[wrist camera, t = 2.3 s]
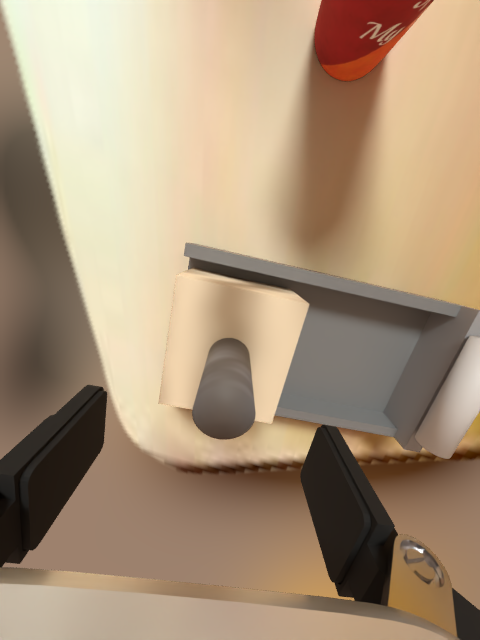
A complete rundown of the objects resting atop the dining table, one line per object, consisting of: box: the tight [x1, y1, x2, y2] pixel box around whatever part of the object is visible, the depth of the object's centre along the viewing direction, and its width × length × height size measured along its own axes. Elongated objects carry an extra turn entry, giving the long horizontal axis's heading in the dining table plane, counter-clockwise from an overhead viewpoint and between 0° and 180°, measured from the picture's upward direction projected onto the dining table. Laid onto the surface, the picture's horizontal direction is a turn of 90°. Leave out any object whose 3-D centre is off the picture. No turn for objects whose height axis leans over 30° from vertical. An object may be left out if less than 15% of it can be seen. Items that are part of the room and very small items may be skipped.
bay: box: [184, 243, 480, 459], centre depth 21 cm, size 26×14×8 cm, turn 78°
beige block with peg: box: [158, 268, 309, 439], centre depth 17 cm, size 9×10×12 cm
